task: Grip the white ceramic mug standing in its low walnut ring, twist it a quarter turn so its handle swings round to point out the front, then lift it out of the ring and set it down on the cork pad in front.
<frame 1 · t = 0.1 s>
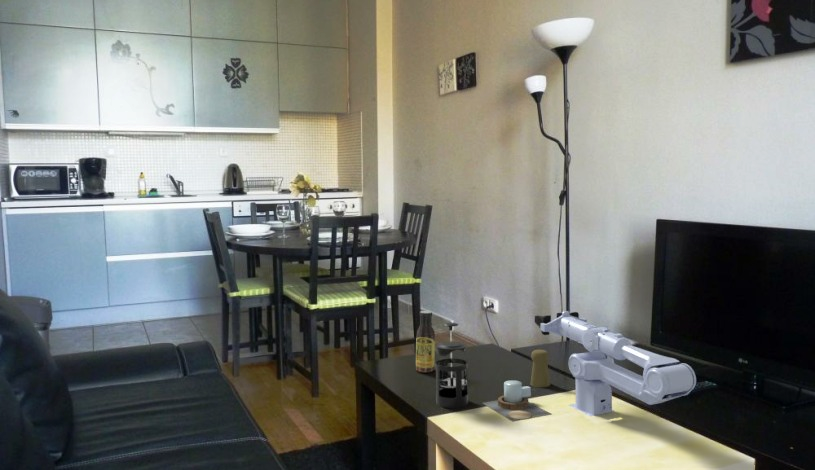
hand: (546, 317, 188), 22 cm above the table, tool horizontal, fingers open, 7 cm apart
pepper shaker: (540, 386, 193), on the table
white ceramic mug: (513, 404, 175), point 1 cm above the table, touching board
french press: (451, 404, 179), on the table
sauce bottle: (425, 371, 212), on the table
board: (515, 410, 172), on the table
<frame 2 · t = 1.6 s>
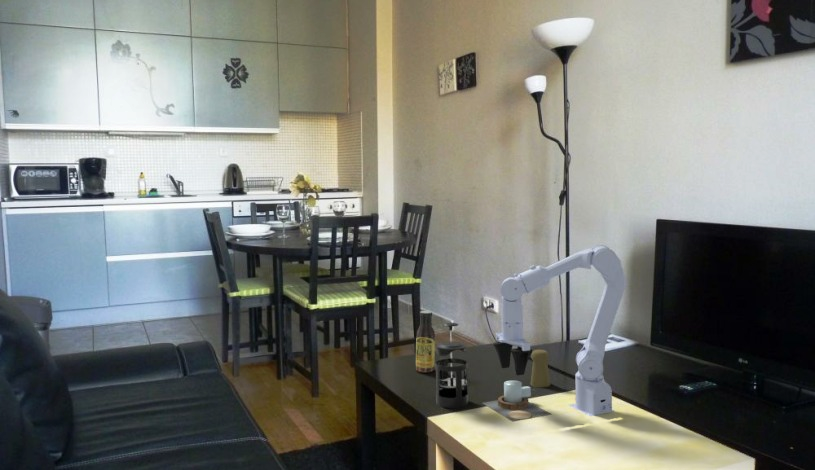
hand: (512, 371, 175), 10 cm above the table, tool pointing down, fingers open, 7 cm apart
nothing on the table moved.
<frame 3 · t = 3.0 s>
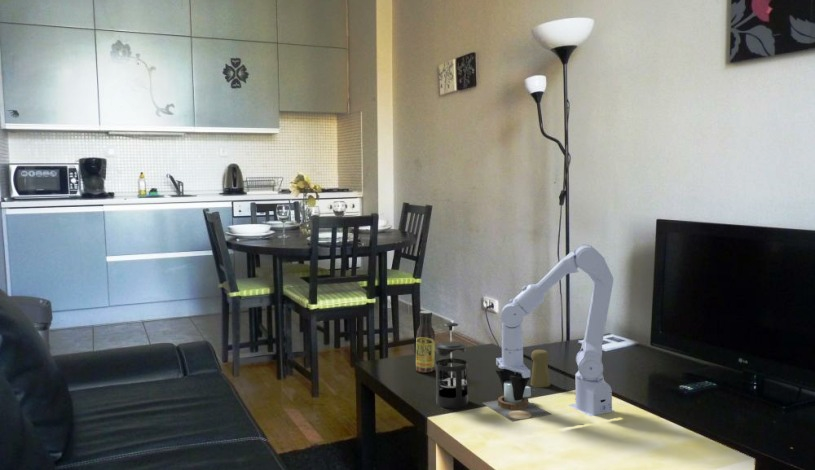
hand: (513, 396, 175), 3 cm above the table, tool pointing down, fingers closed on white ceramic mug, 5 cm apart
white ceramic mug: (513, 404, 175), point 1 cm above the table, touching board, gripper
everything else where it was.
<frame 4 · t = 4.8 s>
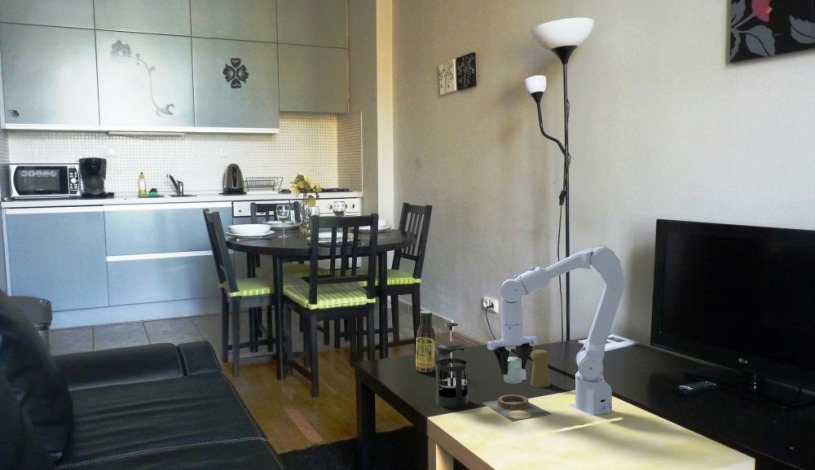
hand: (512, 372, 175), 10 cm above the table, tool pointing down, fingers closed on white ceramic mug, 5 cm apart
white ceramic mug: (512, 380, 175), point 7 cm above the table, touching gripper
everything else where it was.
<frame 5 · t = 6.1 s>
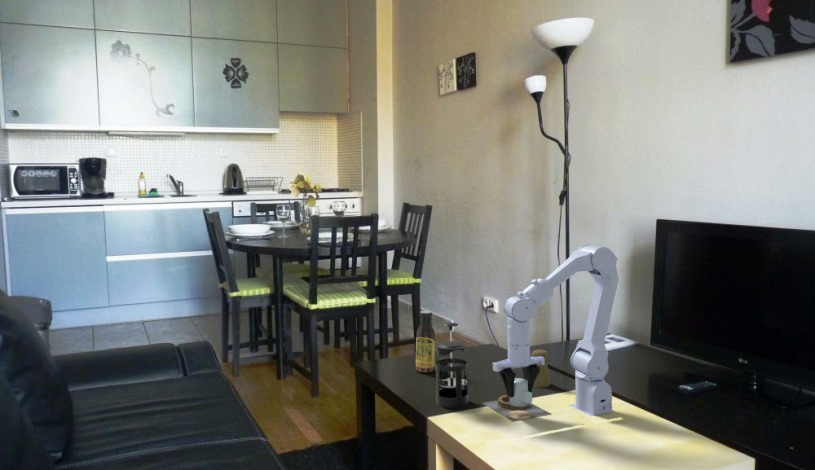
hand: (519, 394, 167), 6 cm above the table, tool pointing down, fingers closed on white ceramic mug, 5 cm apart
white ceramic mug: (518, 403, 167), point 4 cm above the table, touching gripper
everything else where it was.
when the fingers open (4 cm above the table, at t = 7.0 s): white ceramic mug stays where it is, resting on board.
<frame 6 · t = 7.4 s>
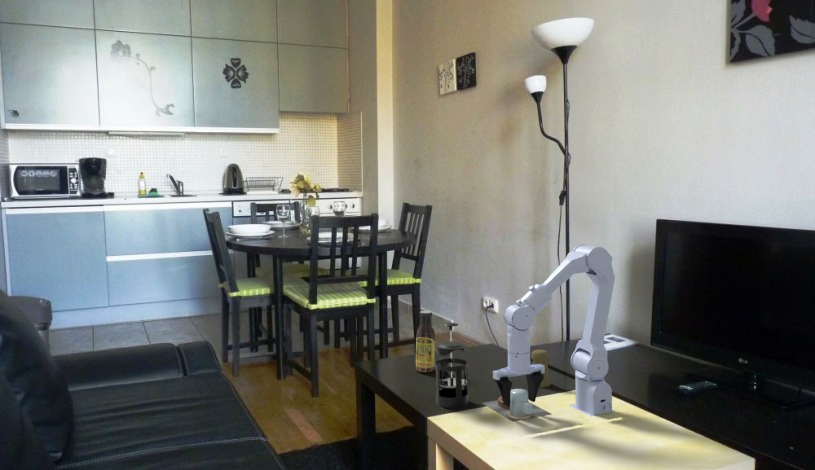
hand: (519, 402, 167), 4 cm above the table, tool pointing down, fingers open, 7 cm apart
white ceramic mug: (519, 414, 167), point 1 cm above the table, touching board
everything else where it was.
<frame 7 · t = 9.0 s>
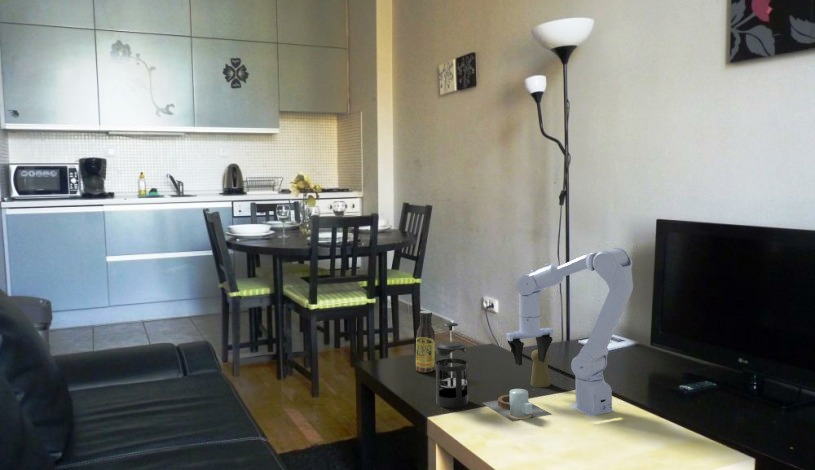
hand: (530, 362, 183), 10 cm above the table, tool pointing down, fingers open, 7 cm apart
nothing on the table moved.
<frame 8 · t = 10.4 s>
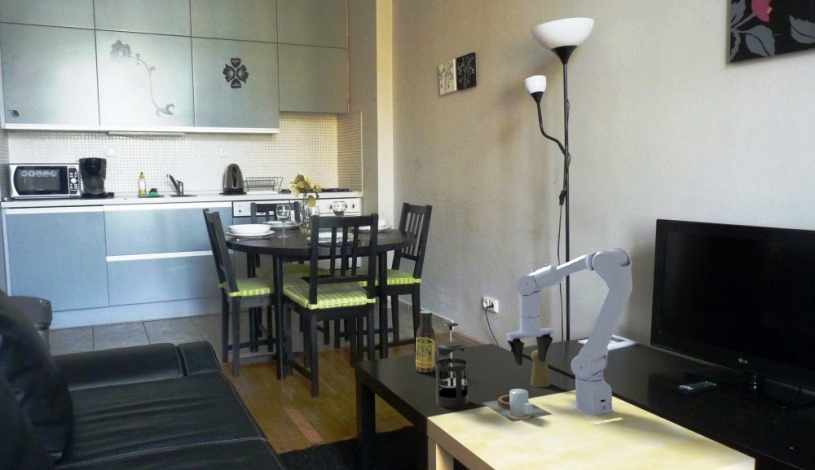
hand: (530, 362, 183), 10 cm above the table, tool pointing down, fingers open, 7 cm apart
nothing on the table moved.
at the end: white ceramic mug 0.3 cm from the target spot, point 0.8 cm above the table; white ceramic mug tilted 0°; white ceramic mug moved 8.3 cm from its start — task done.
